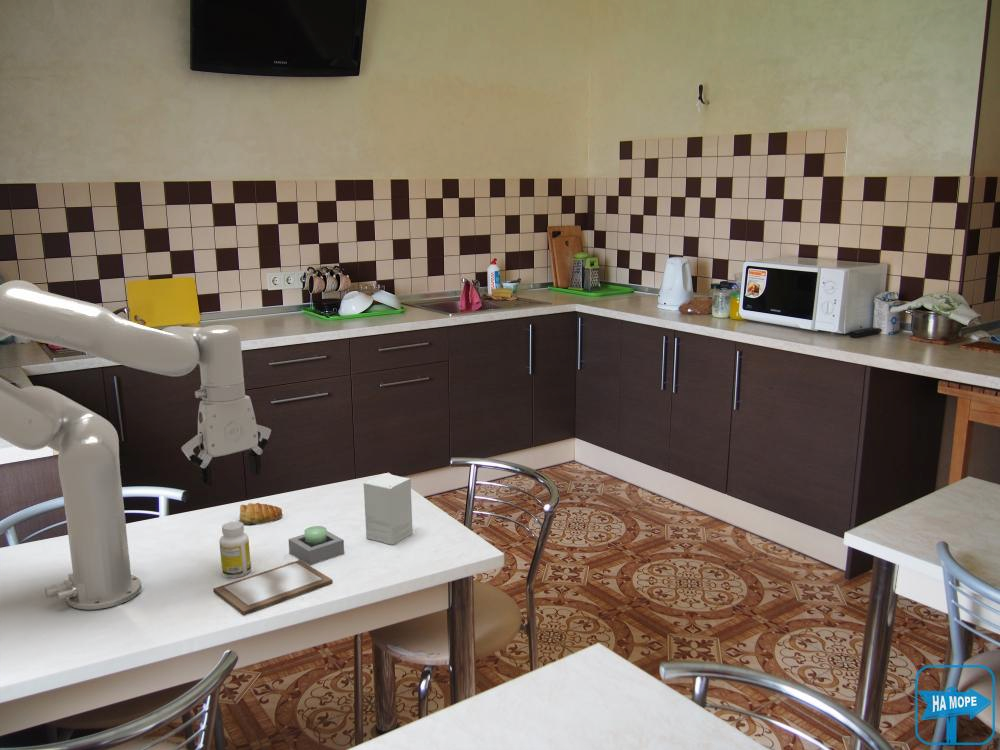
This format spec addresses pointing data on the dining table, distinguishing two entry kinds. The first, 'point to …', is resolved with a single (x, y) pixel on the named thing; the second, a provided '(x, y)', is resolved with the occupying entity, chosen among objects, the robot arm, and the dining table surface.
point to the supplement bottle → (234, 550)
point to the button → (315, 534)
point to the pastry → (259, 513)
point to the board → (272, 587)
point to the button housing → (316, 548)
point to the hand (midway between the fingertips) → (231, 479)
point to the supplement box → (388, 508)
